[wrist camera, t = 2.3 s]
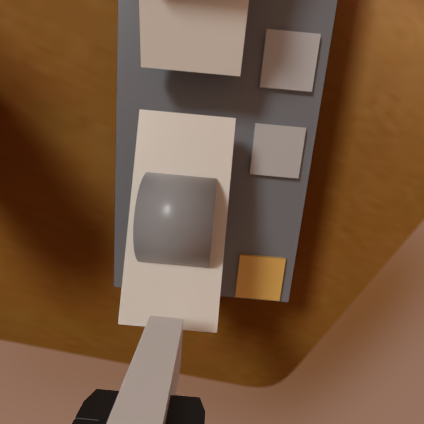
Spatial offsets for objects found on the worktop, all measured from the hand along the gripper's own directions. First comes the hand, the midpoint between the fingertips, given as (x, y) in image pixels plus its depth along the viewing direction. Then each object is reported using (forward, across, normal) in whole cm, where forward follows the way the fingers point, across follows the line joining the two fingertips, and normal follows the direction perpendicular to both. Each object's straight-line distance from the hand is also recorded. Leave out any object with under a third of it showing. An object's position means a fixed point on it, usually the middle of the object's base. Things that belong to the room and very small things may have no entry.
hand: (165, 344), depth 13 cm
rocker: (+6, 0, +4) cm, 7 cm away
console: (+12, +1, +11) cm, 17 cm away
